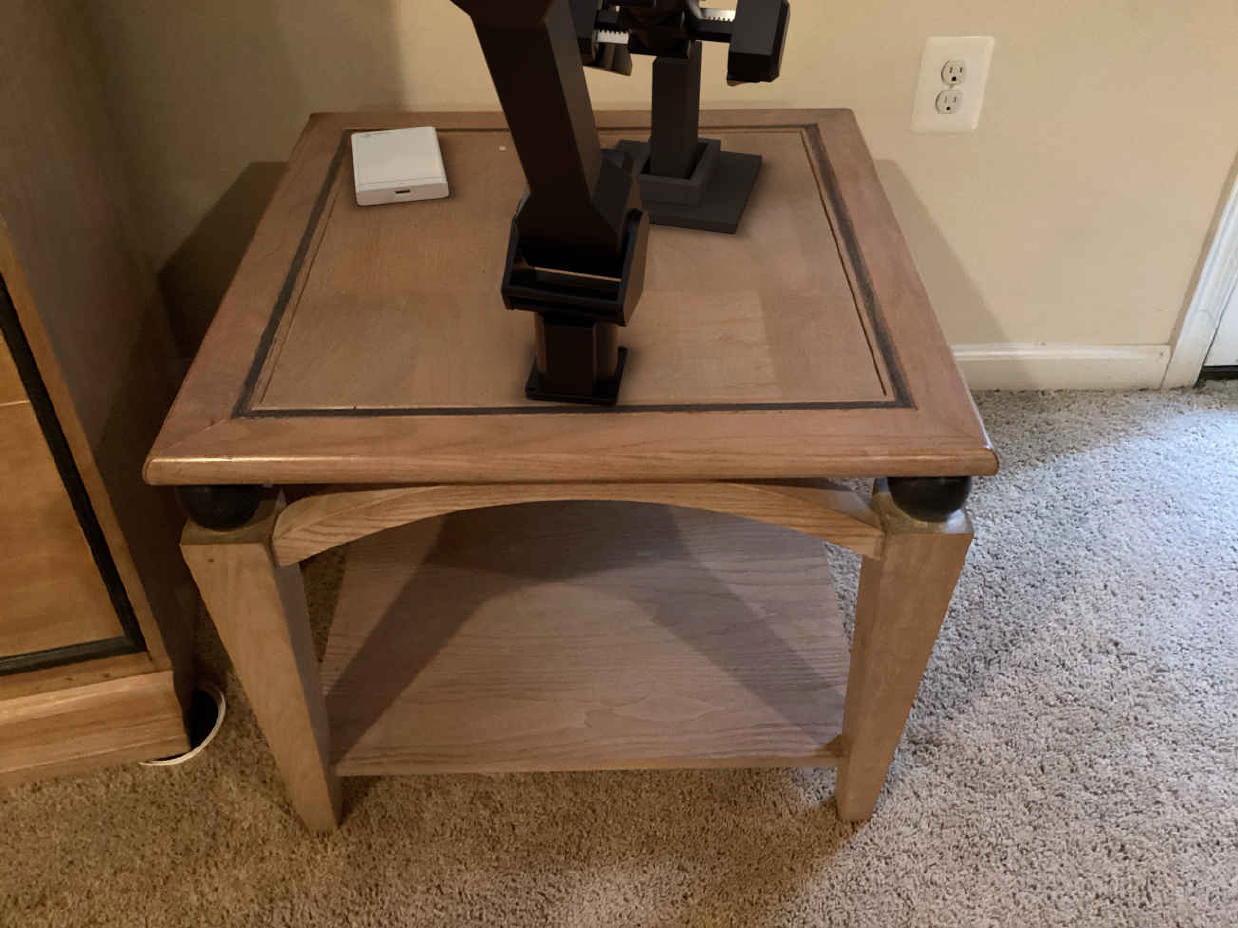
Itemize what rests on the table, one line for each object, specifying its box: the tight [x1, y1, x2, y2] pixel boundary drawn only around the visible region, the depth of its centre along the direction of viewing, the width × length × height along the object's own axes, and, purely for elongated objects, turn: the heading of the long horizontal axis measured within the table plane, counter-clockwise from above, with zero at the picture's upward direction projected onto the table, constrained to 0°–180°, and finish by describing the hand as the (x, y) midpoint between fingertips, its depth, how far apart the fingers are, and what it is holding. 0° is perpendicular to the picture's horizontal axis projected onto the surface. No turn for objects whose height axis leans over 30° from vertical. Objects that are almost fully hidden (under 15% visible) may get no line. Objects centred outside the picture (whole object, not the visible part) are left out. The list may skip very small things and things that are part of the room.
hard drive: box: [350, 125, 450, 206], centre depth 100 cm, size 2×8×12 cm
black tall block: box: [650, 40, 703, 180], centre depth 94 cm, size 3×6×12 cm, turn 165°
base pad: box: [614, 135, 763, 235], centre depth 97 cm, size 14×14×3 cm
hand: (680, 75), depth 93 cm, fingers open, 9 cm apart
